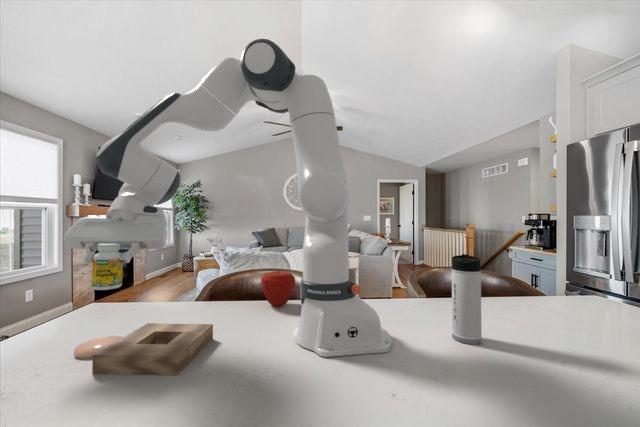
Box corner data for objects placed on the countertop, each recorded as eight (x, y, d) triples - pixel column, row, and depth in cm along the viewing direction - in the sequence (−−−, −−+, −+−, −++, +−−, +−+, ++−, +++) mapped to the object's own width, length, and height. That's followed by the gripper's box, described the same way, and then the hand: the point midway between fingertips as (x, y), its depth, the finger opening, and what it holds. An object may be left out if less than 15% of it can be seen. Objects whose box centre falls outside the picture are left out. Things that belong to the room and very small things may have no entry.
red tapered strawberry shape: (301, 304, 96) (301, 268, 97) (280, 312, 87) (280, 273, 88) (276, 299, 102) (276, 265, 103) (254, 306, 93) (254, 270, 93)
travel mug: (480, 336, 70) (479, 254, 71) (482, 346, 64) (481, 258, 65) (452, 331, 73) (451, 253, 73) (452, 341, 67) (451, 256, 67)
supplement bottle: (122, 283, 66) (124, 242, 67) (121, 288, 62) (123, 244, 62) (92, 286, 63) (95, 243, 64) (89, 291, 59) (92, 245, 59)
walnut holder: (212, 338, 68) (213, 324, 68) (177, 375, 52) (177, 356, 52) (147, 338, 68) (147, 323, 69) (92, 373, 53) (92, 354, 53)
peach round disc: (134, 340, 67) (134, 336, 67) (104, 359, 58) (105, 354, 58) (97, 340, 67) (97, 335, 67) (62, 358, 58) (62, 353, 58)
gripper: (75, 206, 68) (43, 252, 58) (169, 209, 72) (154, 252, 62) (85, 224, 72) (57, 270, 62) (173, 226, 76) (160, 269, 66)
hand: (106, 261), depth 62 cm, fingers closed on supplement bottle, 5 cm apart
